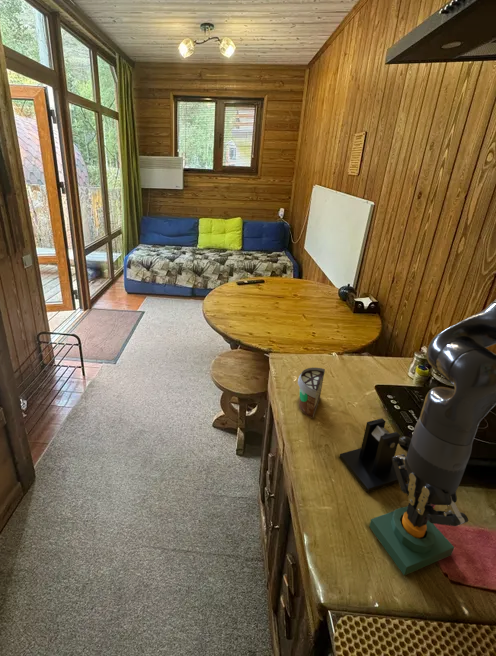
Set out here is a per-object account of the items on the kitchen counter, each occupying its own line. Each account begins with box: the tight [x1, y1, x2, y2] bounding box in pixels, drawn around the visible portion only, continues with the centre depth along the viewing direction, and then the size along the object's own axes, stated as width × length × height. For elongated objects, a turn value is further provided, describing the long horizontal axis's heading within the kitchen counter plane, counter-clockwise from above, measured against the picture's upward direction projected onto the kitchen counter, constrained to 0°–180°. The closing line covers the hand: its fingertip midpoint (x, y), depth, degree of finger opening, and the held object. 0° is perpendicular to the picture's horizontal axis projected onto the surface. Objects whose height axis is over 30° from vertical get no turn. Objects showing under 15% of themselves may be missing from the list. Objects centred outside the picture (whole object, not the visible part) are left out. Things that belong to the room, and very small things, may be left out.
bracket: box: [338, 417, 407, 494], centre depth 70 cm, size 12×9×12 cm
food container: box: [297, 367, 326, 419], centre depth 90 cm, size 12×6×10 cm, turn 149°
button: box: [402, 512, 427, 539], centre depth 57 cm, size 4×4×2 cm
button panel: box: [368, 505, 455, 576], centre depth 57 cm, size 11×8×4 cm
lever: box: [371, 426, 412, 452], centre depth 71 cm, size 13×3×3 cm, turn 105°
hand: (414, 521), depth 56 cm, fingers closed
